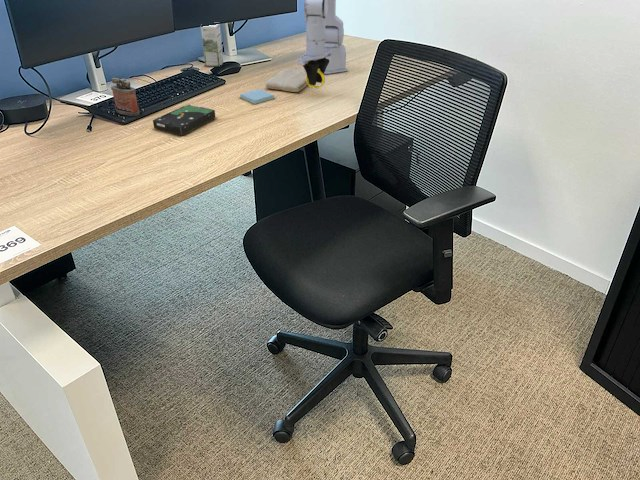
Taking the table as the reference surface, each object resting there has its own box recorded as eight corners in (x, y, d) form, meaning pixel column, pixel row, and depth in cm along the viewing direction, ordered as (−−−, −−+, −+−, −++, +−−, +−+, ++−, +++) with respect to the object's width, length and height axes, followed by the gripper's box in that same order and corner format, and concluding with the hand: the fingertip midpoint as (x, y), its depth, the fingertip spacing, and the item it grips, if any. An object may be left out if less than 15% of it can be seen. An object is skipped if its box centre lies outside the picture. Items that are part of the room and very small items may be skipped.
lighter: (142, 112, 158) (136, 79, 152) (134, 116, 155) (128, 82, 149) (121, 108, 160) (114, 75, 155) (113, 112, 158) (106, 78, 152)
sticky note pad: (259, 92, 173) (259, 88, 173) (274, 98, 169) (273, 94, 168) (240, 97, 169) (240, 94, 168) (254, 104, 164) (254, 100, 164)
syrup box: (223, 62, 201) (220, 22, 193) (219, 67, 196) (215, 25, 188) (209, 62, 201) (204, 21, 193) (204, 66, 196) (199, 25, 188)
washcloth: (318, 78, 186) (318, 69, 184) (298, 94, 172) (298, 84, 170) (287, 74, 189) (286, 65, 188) (265, 89, 175) (265, 80, 174)
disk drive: (182, 137, 144) (216, 118, 154) (181, 127, 142) (215, 109, 153) (153, 129, 148) (188, 112, 158) (151, 120, 146) (187, 102, 157)
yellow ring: (304, 87, 170) (304, 68, 167) (308, 85, 172) (308, 66, 169) (322, 90, 168) (322, 71, 165) (325, 87, 170) (325, 68, 167)
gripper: (320, 32, 168) (320, 75, 176) (289, 41, 159) (291, 86, 167) (338, 36, 165) (337, 79, 172) (307, 45, 156) (308, 91, 163)
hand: (315, 83), depth 169 cm, fingers closed on yellow ring, 2 cm apart
